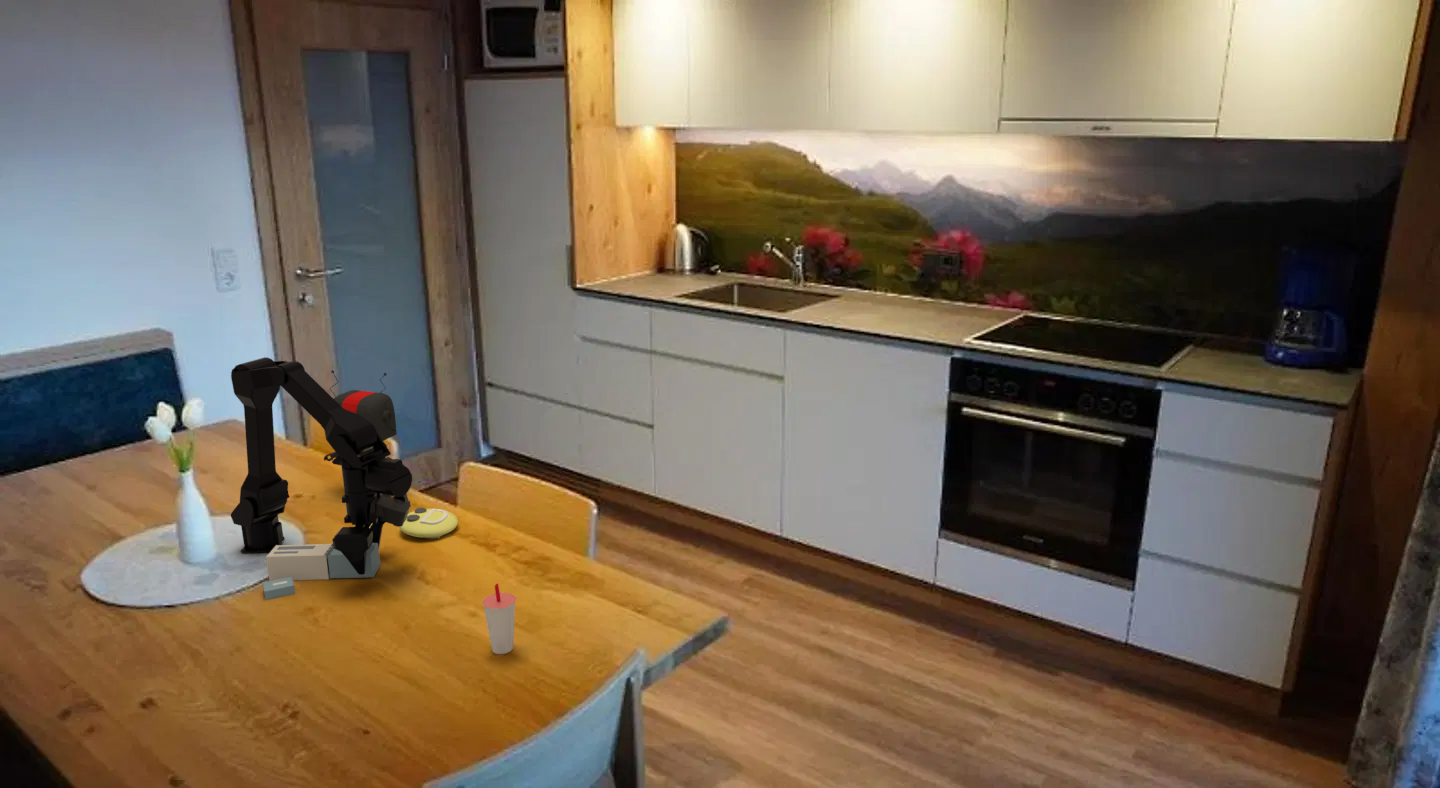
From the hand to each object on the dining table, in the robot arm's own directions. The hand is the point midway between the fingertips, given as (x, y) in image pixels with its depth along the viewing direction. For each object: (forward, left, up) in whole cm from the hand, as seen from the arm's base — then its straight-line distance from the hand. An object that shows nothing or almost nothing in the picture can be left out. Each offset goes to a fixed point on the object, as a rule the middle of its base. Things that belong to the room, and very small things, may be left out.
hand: (368, 563), depth 187 cm
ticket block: (-13, 0, -2) cm, 13 cm away
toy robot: (-11, +39, -2) cm, 41 cm away
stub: (-3, 0, -2) cm, 3 cm away
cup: (+30, -29, -2) cm, 42 cm away
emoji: (+7, +19, -2) cm, 20 cm away
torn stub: (-15, -7, -2) cm, 16 cm away
